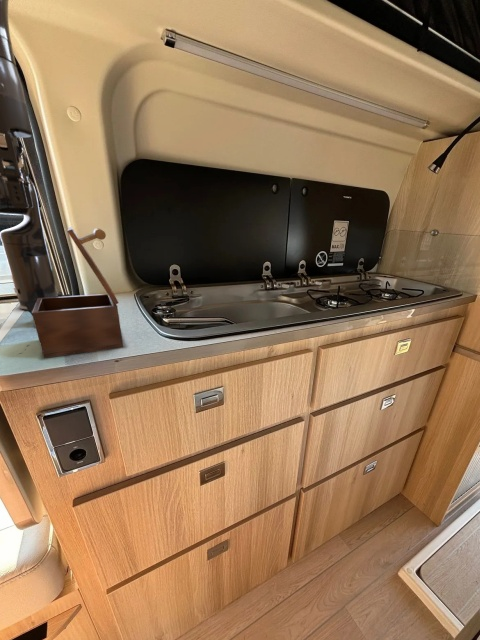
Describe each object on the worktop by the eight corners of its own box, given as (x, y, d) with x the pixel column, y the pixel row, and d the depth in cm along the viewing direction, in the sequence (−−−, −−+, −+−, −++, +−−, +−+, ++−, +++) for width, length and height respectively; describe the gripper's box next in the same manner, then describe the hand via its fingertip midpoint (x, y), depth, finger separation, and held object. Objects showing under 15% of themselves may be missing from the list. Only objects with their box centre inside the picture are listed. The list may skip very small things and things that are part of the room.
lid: (67, 231, 49) (98, 219, 51) (67, 228, 58) (94, 218, 60) (114, 304, 57) (140, 292, 59) (109, 292, 66) (131, 282, 68)
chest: (44, 358, 54) (31, 313, 51) (48, 337, 63) (37, 298, 60) (123, 347, 61) (117, 306, 57) (116, 329, 70) (111, 293, 66)
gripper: (-24, 103, 51) (4, 206, 57) (-49, 74, 40) (-12, 205, 46) (30, 113, 54) (50, 209, 61) (20, 89, 43) (46, 209, 50)
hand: (23, 207), depth 54 cm, fingers open, 8 cm apart
